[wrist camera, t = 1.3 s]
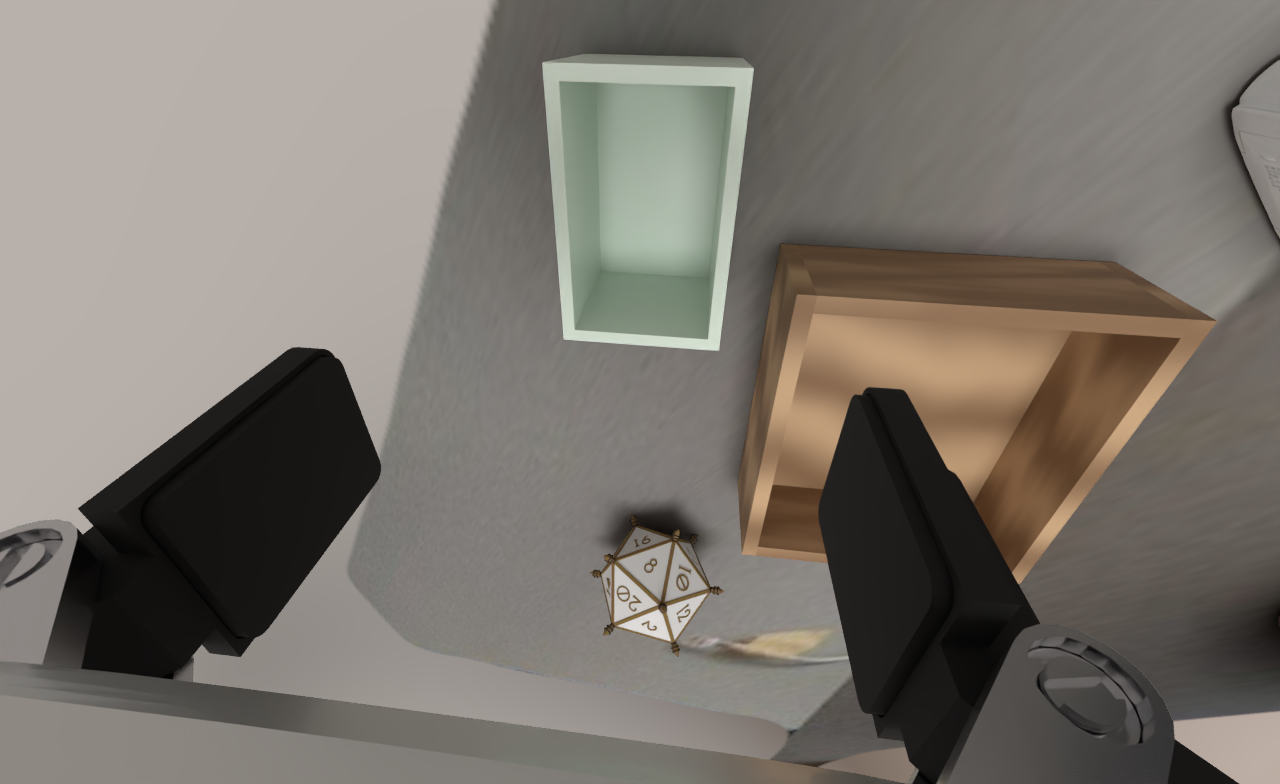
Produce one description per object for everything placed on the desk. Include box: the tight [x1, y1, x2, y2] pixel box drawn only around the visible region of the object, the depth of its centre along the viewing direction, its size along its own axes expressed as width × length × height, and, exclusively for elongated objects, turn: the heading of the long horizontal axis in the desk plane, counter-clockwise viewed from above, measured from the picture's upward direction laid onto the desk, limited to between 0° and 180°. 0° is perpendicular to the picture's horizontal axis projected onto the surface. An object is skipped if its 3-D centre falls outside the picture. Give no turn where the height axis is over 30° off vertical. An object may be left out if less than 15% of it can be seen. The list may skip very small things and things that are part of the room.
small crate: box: [542, 54, 754, 351], centre depth 22 cm, size 10×7×7 cm, turn 179°
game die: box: [590, 515, 724, 657], centre depth 36 cm, size 9×8×10 cm
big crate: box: [738, 244, 1217, 583], centre depth 27 cm, size 17×16×6 cm
